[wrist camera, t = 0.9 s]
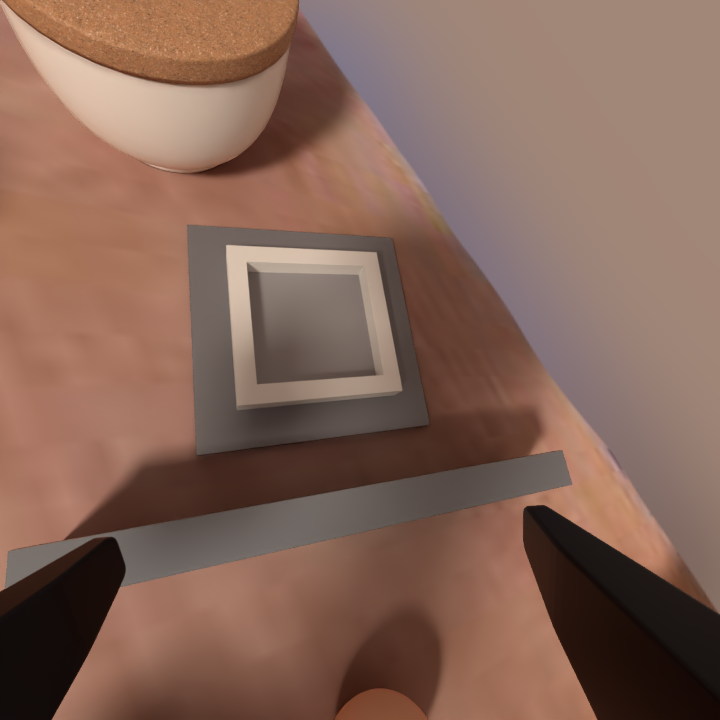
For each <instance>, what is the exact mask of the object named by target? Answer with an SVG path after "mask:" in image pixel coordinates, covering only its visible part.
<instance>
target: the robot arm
mask: <svg viewBox="0 0 720 720" xmlns="http://www.w3.org/2000/svg"><path fill="white" fill-rule="evenodd" d="M523 543H524V548H525V551H526V554H527V557H528V559H529V562H530V565H531V568H532V570H533V573H534V576H535V579H536V581H537V584H538V587H539V590H540V592H541V595H542V598H543V601H544V603H545V606H546V609H547V612H548V614H549V617H550V619H551V622H552V625H553V627H554V629H555V632H556V634H557V636H558V638H559V640H560V643H561V645H562V647H563V649H564V651H565V653H566V655H567V657H568V659H569V661H570V663H571V665H572V668H573V670H574V672H575V674H576V676H577V678H578V680H579V682H580V684H581V686H582V688H583V690H584V693H585V695H586V697H587V699H588V701H589V703H590V705H591V707H592V709H593V711H594V713H595V715H596V718H597V720H720V614H718V613H717V612H715V611H714V610H712V609H710V608H709V607H707V606H706V605H704V604H702V603H701V602H699V601H698V600H696V599H694V598H693V597H691V596H690V595H688V594H686V593H685V592H683V591H682V590H680V589H678V588H677V587H675V586H674V585H672V584H670V583H669V582H667V581H666V580H664V579H662V578H661V577H659V576H658V575H656V574H654V573H653V572H651V571H650V570H648V569H646V568H645V567H643V566H642V565H640V564H638V563H637V562H635V561H634V560H632V559H630V558H629V557H627V556H626V555H624V554H622V553H621V552H619V551H618V550H616V549H614V548H613V547H611V546H610V545H608V544H606V543H605V542H603V541H602V540H600V539H598V538H597V537H595V536H594V535H592V534H590V533H589V532H587V531H586V530H584V529H582V528H581V527H579V526H578V525H576V524H574V523H573V522H571V521H570V520H568V519H566V518H565V517H563V516H562V515H560V514H558V513H557V512H555V511H554V510H552V509H550V508H549V507H547V506H545V505H536V506H527V507H525V508H524V512H523ZM125 573H126V565H125V562H124V559H123V556H122V553H121V550H120V547H119V544H118V542H117V540H116V539H115V538H114V537H98V538H93V539H91V540H89V541H88V542H86V543H84V544H83V545H81V546H79V547H77V548H76V549H74V550H72V551H70V552H69V553H67V554H65V555H63V556H62V557H60V558H58V559H56V560H55V561H53V562H51V563H49V564H48V565H46V566H44V567H42V568H41V569H39V570H37V571H36V572H34V573H32V574H30V575H29V576H27V577H25V578H23V579H22V580H20V581H18V582H16V583H15V584H13V585H11V586H9V587H8V588H6V589H4V590H2V591H1V592H0V720H52V718H53V716H54V715H55V713H56V711H57V709H58V708H59V706H60V704H61V702H62V700H63V699H64V697H65V695H66V693H67V692H68V690H69V688H70V686H71V684H72V683H73V681H74V679H75V677H76V676H77V674H78V672H79V670H80V668H81V667H82V665H83V663H84V661H85V659H86V657H87V656H88V654H89V652H90V650H91V648H92V646H93V644H94V642H95V640H96V637H97V635H98V633H99V631H100V629H101V627H102V624H103V622H104V620H105V618H106V616H107V614H108V612H109V609H110V607H111V605H112V603H113V601H114V599H115V597H116V594H117V592H118V590H119V588H120V586H121V584H122V581H123V579H124V577H125Z"/></svg>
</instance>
